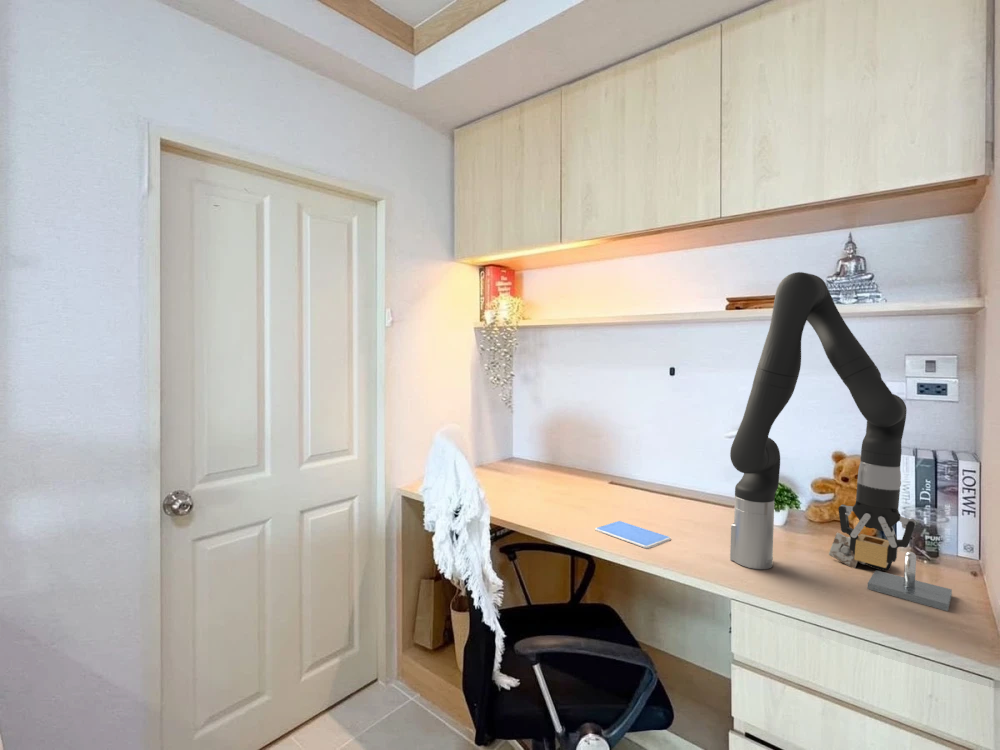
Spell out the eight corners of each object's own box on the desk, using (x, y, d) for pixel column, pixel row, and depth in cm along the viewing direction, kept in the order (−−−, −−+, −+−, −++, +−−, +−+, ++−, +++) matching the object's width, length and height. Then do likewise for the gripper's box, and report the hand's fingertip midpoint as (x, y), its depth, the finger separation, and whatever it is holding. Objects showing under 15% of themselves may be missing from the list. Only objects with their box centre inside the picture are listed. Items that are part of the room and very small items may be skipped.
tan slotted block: (854, 559, 111) (855, 539, 110) (859, 552, 115) (860, 533, 114) (885, 568, 107) (887, 547, 106) (889, 560, 111) (891, 540, 110)
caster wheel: (892, 577, 128) (873, 580, 123) (846, 553, 138) (827, 554, 133) (901, 554, 127) (883, 555, 122) (854, 531, 137) (835, 532, 132)
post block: (867, 588, 116) (869, 548, 116) (875, 576, 123) (876, 538, 123) (947, 611, 106) (949, 567, 106) (951, 595, 113) (953, 554, 113)
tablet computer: (593, 531, 154) (593, 527, 154) (619, 523, 162) (619, 519, 162) (646, 551, 139) (646, 546, 139) (672, 541, 146) (672, 536, 146)
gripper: (836, 479, 112) (830, 552, 113) (918, 494, 102) (912, 574, 103) (843, 473, 117) (837, 543, 118) (922, 487, 107) (916, 563, 108)
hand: (872, 557), depth 111 cm, fingers closed on tan slotted block, 5 cm apart
